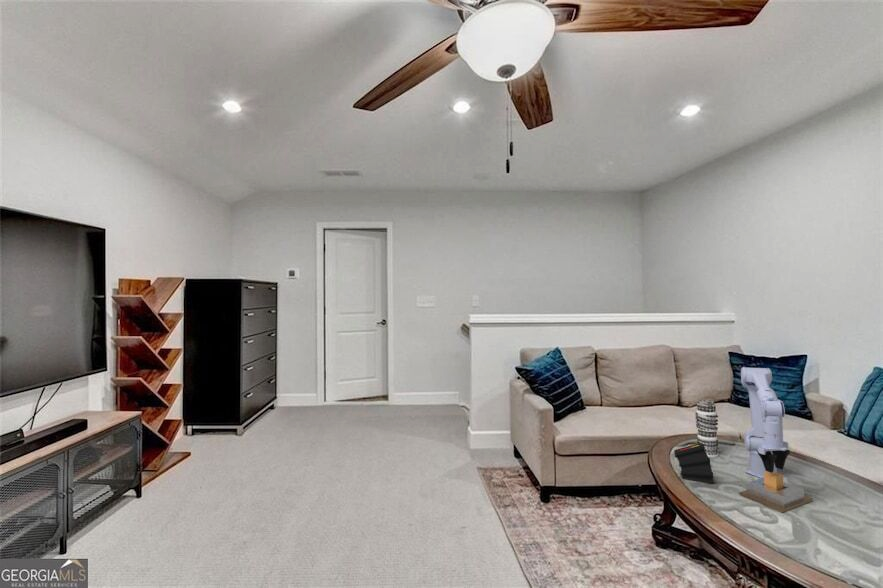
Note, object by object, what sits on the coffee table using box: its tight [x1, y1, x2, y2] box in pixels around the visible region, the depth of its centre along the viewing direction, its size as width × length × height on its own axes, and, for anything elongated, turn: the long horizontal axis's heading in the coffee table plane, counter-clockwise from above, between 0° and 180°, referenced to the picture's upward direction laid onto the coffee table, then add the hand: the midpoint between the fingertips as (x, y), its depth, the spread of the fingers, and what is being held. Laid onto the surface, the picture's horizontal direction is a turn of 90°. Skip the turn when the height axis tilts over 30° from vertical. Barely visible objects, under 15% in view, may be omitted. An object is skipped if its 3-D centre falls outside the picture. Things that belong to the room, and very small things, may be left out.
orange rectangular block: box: [764, 471, 784, 491], centre depth 152 cm, size 4×4×8 cm
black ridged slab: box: [673, 443, 714, 485], centre depth 168 cm, size 4×13×15 cm, turn 58°
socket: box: [739, 477, 814, 514], centre depth 152 cm, size 18×14×4 cm
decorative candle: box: [694, 398, 720, 458], centre depth 194 cm, size 9×9×25 cm
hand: (774, 469), depth 152 cm, fingers open, 5 cm apart
